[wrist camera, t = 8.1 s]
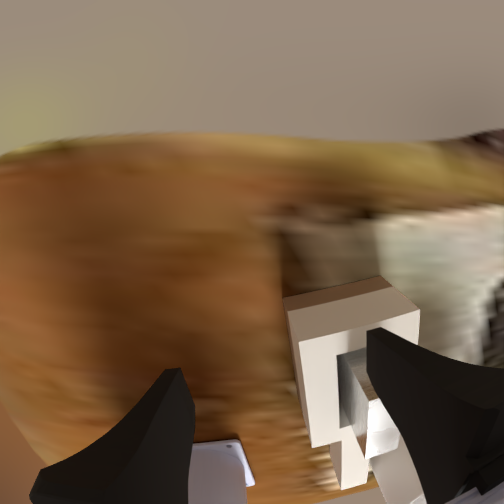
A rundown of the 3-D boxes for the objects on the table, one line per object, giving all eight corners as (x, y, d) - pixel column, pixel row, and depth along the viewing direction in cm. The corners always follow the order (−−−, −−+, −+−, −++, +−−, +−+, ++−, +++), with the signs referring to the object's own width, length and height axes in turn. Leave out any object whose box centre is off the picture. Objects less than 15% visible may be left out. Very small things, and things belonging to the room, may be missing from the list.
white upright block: (334, 387, 21) (365, 459, 14) (329, 330, 20) (368, 401, 13) (360, 379, 21) (397, 448, 14) (359, 322, 20) (406, 388, 13)
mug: (469, 369, 25) (527, 431, 15) (450, 424, 27) (492, 484, 17) (363, 404, 24) (408, 494, 14) (355, 457, 27) (385, 535, 17)
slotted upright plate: (307, 461, 26) (318, 504, 21) (282, 298, 21) (298, 341, 16) (374, 442, 26) (393, 482, 21) (380, 275, 21) (420, 309, 16)
